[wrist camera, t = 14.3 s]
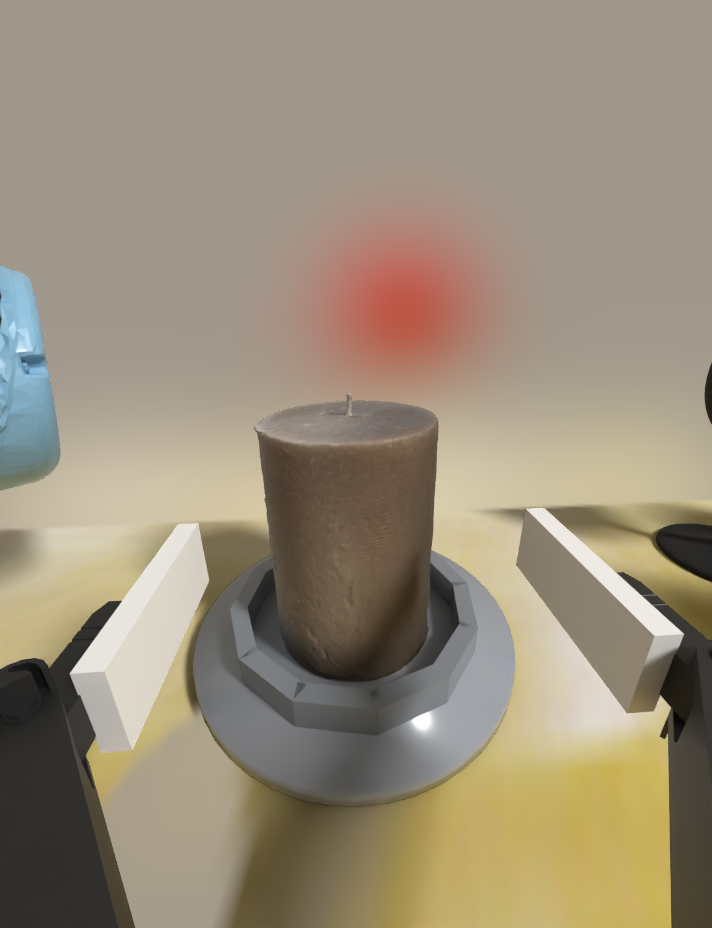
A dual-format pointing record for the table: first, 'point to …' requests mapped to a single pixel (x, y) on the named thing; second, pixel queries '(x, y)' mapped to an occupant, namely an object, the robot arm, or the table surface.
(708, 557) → the wine glass
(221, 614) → the candle plate
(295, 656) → the pillar candle
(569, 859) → the table surface
